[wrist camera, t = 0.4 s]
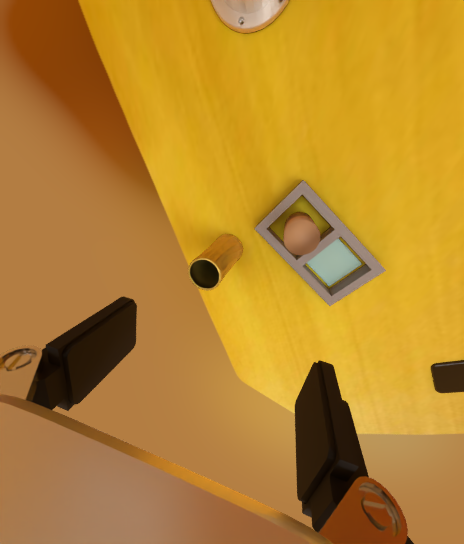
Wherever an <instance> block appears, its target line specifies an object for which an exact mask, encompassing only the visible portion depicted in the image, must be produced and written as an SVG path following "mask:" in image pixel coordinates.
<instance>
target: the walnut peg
mask: <svg viewBox="0 0 464 544" xmlns="http://www.w3.org/2000/svg"><path fill="white" fill-rule="evenodd" d="M319 242H320V232H319V229H318V228H317V226H316V225H315V223H314V222H313V220H312V219H311V217H310V216H309V215H307V214H306V213H303V212H297V213H294V214H292V215H290V216H289V217H288V219H287V220H286V222H285V229H284V244H285V246H286V248H287V249H288V250H289V251H290V252H291V253H293V254H296V255H306V254H309V253H311V252H312V251H314V250H315V249H316V248H317V246H318V244H319Z"/></svg>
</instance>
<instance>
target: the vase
mask: <svg viewBox="0 0 464 544" xmlns="http://www.w3.org/2000/svg"><path fill="white" fill-rule="evenodd" d="M242 252H243V247H242V244H241V242H240V241H239V239H238V238H236V237H235V236H233V235H230V234H225V235H222V236H220V237H219V238H217V240H216V241H215V242H214V243H213V244H212V245H211V246H210V247H209V248H207V249H206V250H205V251H204V252H203V253H202V254H201V255H199V256H198V257H197V258H196V259H194V260H193V261H192V262H191V264H190V266H189V271H188V275H189V278H190V280H191V281H192V283H193V284H194V285H195V286H196V287H198V288H199V289H202V290H212V289H214V288H216V287H217V286H218V285H219V283H220V282H221V281H222V279H223V278H224V276H225V275H226V274H227V272H228V271H229V270H230V269H231V267H232V266H233V265H234V264H235V263H236V261H238V260H239V258H240V257H241V255H242Z"/></svg>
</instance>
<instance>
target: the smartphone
mask: <svg viewBox="0 0 464 544" xmlns="http://www.w3.org/2000/svg"><path fill="white" fill-rule="evenodd" d="M431 372H432V377H433V379H434V380H433V382H434V387H435V390H436V391H437V392H439V393H453V392H464V360H461V361H452V362H443V363H436V364H433V365H432V366H431Z"/></svg>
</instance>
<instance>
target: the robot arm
mask: <svg viewBox="0 0 464 544" xmlns="http://www.w3.org/2000/svg"><path fill="white" fill-rule="evenodd" d="M280 1H282V2H280ZM288 1H289V0H211V2H212V5H213V7H214V9H215V11H216V13H217V15H218V16H219V18H220V19H221V20H222V22H223V23H224V24H225V25H226V26H228V27H229V28H231V29H232V30H235V31H237V32H242V33H250V32H256V31H258V30H261V29H263V28H265V27H266V26H268V25H269V24H270V23H272V22H273V21H274V20H275V19H276V18H277V17H278V16H279V15H280V13H281V12H282V11H283V9H284V8H285V7H286V5H287V3H288ZM279 2H280V3H279ZM242 23H244V24H243V25H241V24H242ZM136 311H137V305H136V303H135V302H134V300H133V299H130V298H126V297H121V298H119V299H118V300H116V301H114V302H113V303H111V304H110V305H108V306H106V307H105V308H104V309H102V310H100V311H99V312H97V313H96V314H94V315H92V316H91V317H89V318H87V319H86V320H84V321H83V322H81V323H80V324H78V325H76V326H75V327H73V328H72V329H70V330H68V331H67V332H65V333H64V334H62V335H61V336H59V337H57V338H56V339H54V340H53V341H51V342H50V343H48V344H46V348H44V349H43V350H41V349H40V348H38V347H36V346H21V347H16V348H13V349H10V350H8V351H6V352H4V353H2V354H1V355H0V544H414V543H413V542H412V541H411V540H410V538H409V537H408V536H407V534H408V529H407V523H406V519H405V517H404V515H403V512H402V510H401V508H400V506H399V505H398V503H397V501H396V500H395V498H394V497H393V496H392V495H391V494H390V493H389V491H388V490H387V489H386V488H384V487H383V486H382V485H381V484H380V483H379V482H377V481H376V480H374V479H372V478H369V476H368V473H367V469H366V466H365V462H364V458H363V455H362V451H361V448H360V444H359V441H358V437H357V433H356V430H355V426H354V423H353V419H352V415H351V412H350V408H349V406H348V403H347V402H346V401H344V400H342V398H341V394H340V390H339V386H338V382H337V378H336V374H335V370H334V367H333V365H332V364H329V363H326V362H323V361H318V363H316V362H314V363H313V365H312V367H311V369H310V372H309V374H308V376H307V378H306V380H305V382H304V385H303V387H302V389H301V391H300V393H299V395H298V398H297V400H296V403H295V428H296V429H295V431H296V466H297V496H298V499H299V500H300V501H302V513H303V514H305V515H307V516H310V517H312V527H313V528H314V530H315V531H314V530H313V529H311V528H310V527H308V526H306V525H304V524H303V523H301V522H299V521H297V520H295V519H293V518H291V517H290V516H288V515H286V514H283V513H282V512H279V511H277V510H275V509H273V508H271V507H269V506H267V505H264V504H263V503H260V502H258V501H256V500H254V499H251V498H250V497H248V496H246V495H243V494H241V493H239V492H237V491H235V490H232V489H230V488H228V487H226V486H223V485H221V484H219V483H217V482H215V481H212V480H210V479H208V478H205V477H203V476H201V475H199V474H197V473H194V472H192V471H190V470H188V469H185V468H183V467H181V466H179V465H177V464H174V463H172V462H170V461H168V460H165V459H163V458H161V457H158V456H156V455H154V454H152V453H149V452H147V451H145V450H143V449H140V448H138V447H136V446H133V445H131V444H129V443H127V442H124V441H122V440H120V439H117V438H115V437H113V436H111V435H108V434H106V433H104V432H101V431H99V430H97V429H95V428H92V427H90V426H88V425H85V424H83V423H81V422H79V421H76V420H74V419H72V418H69V417H67V416H65V415H62V414H60V413H57V412H55V411H52V409H54V408H55V407H56V406H58V407H60V408H62V409H65V410H67V411H68V410H69V409H70V408H71V407H72V406H73V405H74V404H78V403H80V402H81V401H82V400H83V399H84V398H85V397H86V396H87V395H88V394H89V393H90V392H91V391H92V390H93V389H94V388H95V387H96V386H97V385H98V384H99V383H100V382H101V381H102V380H103V379H104V378H105V377H106V376H107V375H108V373H109V372H111V370H112V369H114V368H115V367H116V365H117V364H118V363H119V362H120V361H121V360H122V359H123V358H124V357H125V356H126V355H127V354H128V353H129V352H130V351H131V350H132V349H133V348H134V346H135V344H136Z"/></svg>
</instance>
